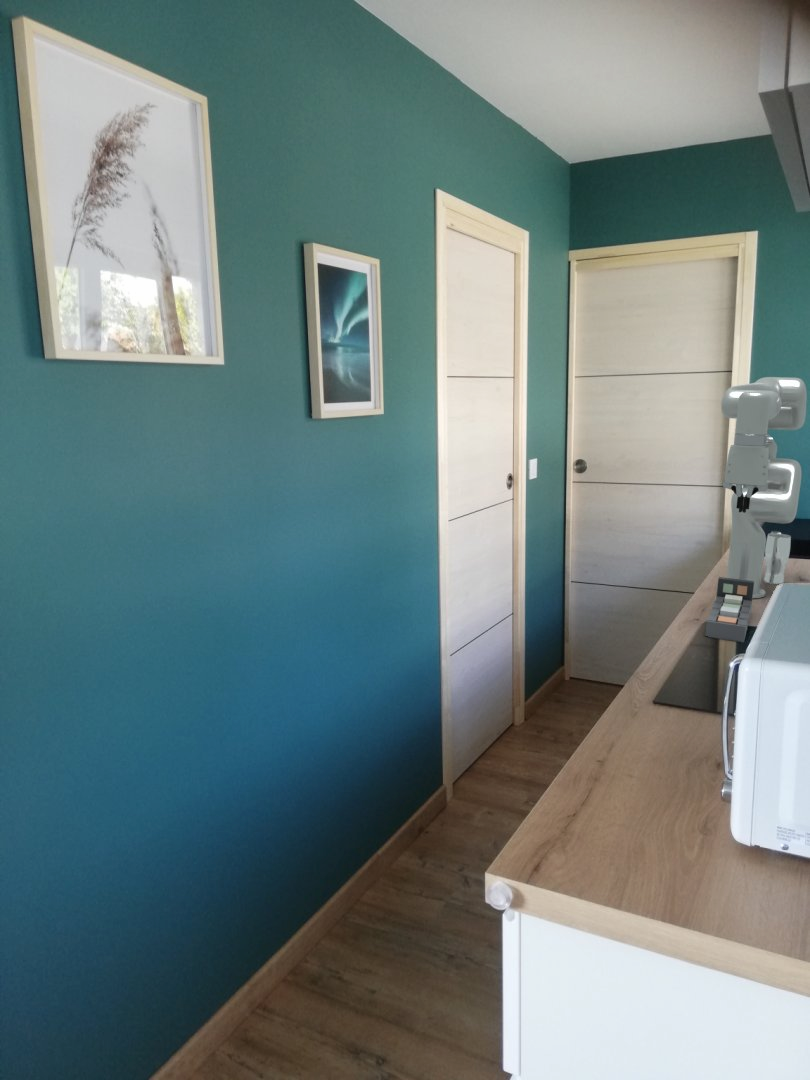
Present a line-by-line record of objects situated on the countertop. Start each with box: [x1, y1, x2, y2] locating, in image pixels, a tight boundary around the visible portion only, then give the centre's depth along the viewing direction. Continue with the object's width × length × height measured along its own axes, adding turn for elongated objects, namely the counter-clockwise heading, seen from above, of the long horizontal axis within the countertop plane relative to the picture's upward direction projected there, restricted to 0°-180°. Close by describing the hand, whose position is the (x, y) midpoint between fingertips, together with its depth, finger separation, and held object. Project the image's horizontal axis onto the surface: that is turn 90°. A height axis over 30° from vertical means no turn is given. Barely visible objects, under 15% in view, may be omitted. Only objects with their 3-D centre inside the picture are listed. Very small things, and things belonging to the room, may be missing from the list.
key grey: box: [720, 606, 739, 618], centre depth 206 cm, size 4×4×2 cm
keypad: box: [704, 576, 754, 643], centre depth 209 cm, size 27×9×9 cm, turn 154°
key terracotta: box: [717, 616, 737, 624], centre depth 200 cm, size 4×4×2 cm
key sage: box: [723, 603, 741, 611], centre depth 211 cm, size 4×4×2 cm
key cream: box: [724, 594, 743, 605], centre depth 217 cm, size 4×4×2 cm
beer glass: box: [762, 533, 792, 586], centre depth 250 cm, size 7×7×15 cm
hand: (742, 511), depth 209 cm, fingers closed
